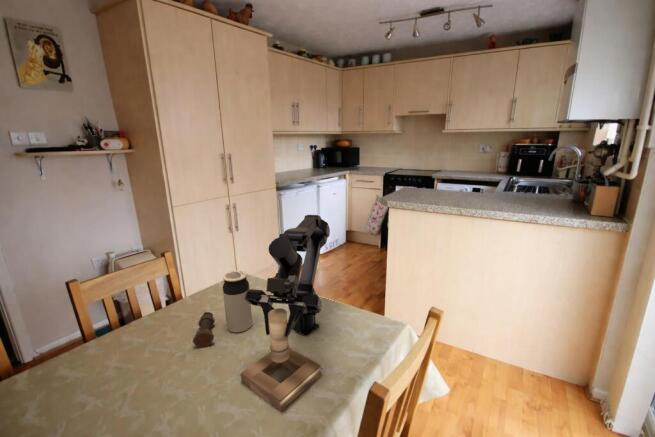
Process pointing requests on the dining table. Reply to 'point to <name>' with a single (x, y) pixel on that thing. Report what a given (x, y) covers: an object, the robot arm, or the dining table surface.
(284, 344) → the peg
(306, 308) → the robot arm
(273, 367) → the socket board
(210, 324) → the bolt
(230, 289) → the travel mug
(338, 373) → the dining table surface
